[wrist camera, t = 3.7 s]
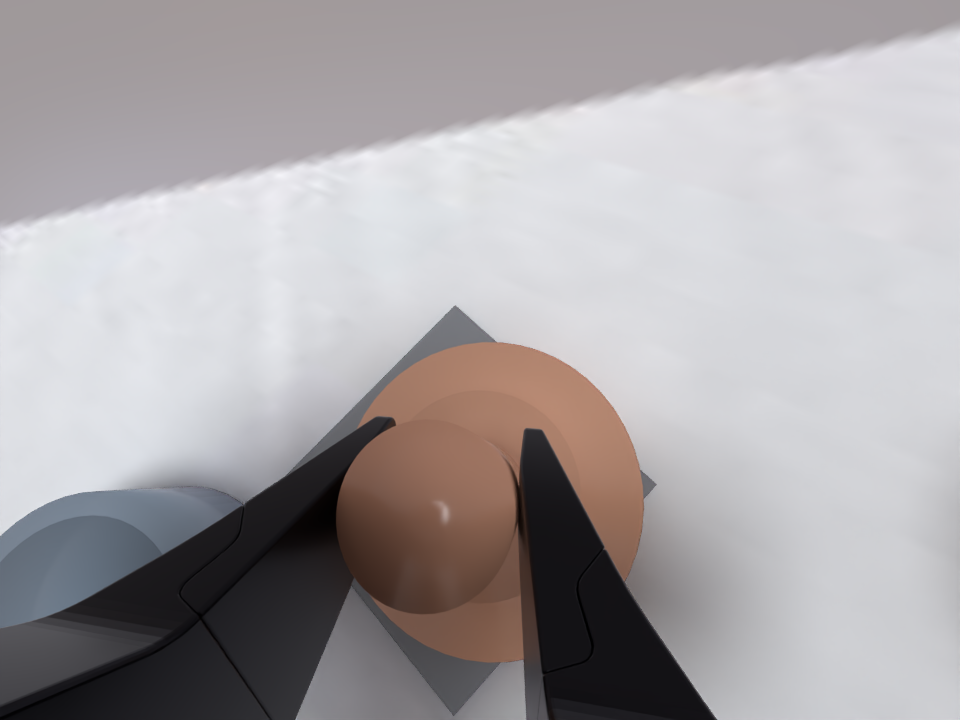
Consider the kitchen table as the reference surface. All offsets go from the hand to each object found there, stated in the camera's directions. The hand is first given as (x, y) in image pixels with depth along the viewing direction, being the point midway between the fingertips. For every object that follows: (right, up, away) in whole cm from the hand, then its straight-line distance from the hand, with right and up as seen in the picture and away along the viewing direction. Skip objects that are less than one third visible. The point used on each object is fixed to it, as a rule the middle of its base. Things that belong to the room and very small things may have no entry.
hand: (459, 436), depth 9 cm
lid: (+1, -3, +7) cm, 8 cm away
